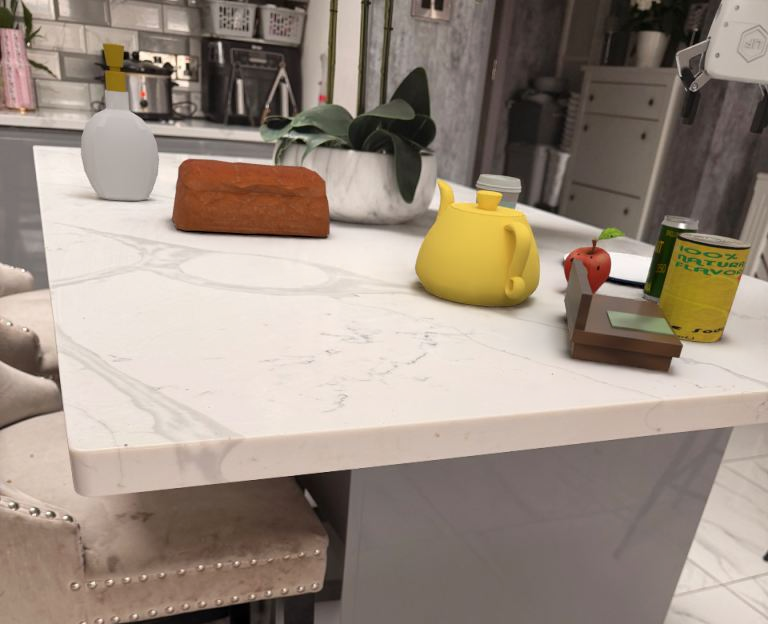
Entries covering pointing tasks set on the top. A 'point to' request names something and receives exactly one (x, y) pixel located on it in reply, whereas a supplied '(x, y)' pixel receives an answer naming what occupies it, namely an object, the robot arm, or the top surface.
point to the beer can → (665, 253)
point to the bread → (250, 199)
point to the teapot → (479, 252)
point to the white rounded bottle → (119, 141)
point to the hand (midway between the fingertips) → (721, 128)
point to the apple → (593, 260)
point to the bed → (617, 327)
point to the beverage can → (702, 284)
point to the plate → (627, 268)
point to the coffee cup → (501, 188)
